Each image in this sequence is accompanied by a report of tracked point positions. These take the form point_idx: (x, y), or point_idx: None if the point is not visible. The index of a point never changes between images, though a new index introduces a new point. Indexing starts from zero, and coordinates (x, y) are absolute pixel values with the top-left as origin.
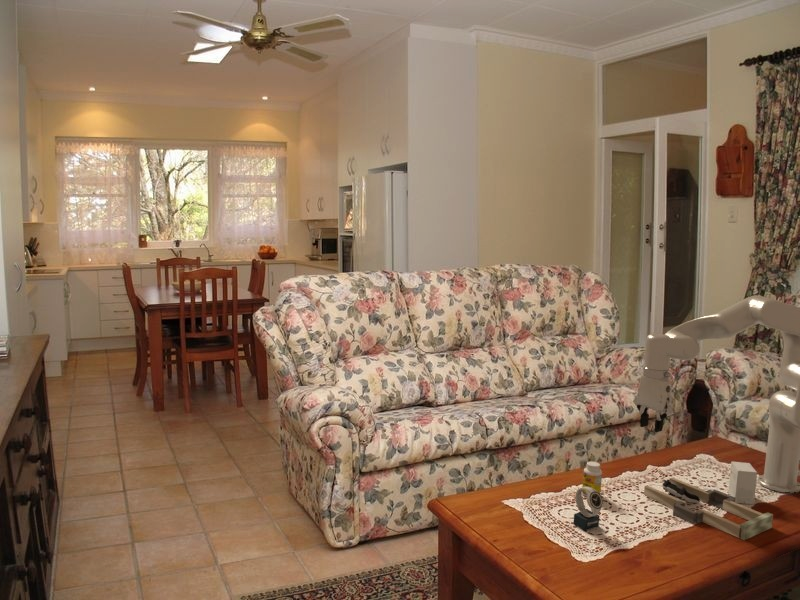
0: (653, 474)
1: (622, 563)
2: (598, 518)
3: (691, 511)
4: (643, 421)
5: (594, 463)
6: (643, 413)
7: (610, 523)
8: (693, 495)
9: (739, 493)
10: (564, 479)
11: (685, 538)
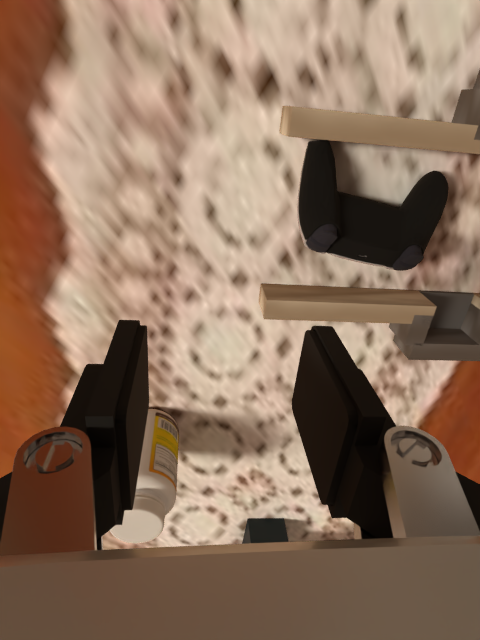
0: (138, 31)
1: None
2: (287, 540)
3: (469, 353)
4: (141, 438)
5: (135, 522)
6: (104, 520)
7: (294, 493)
8: (438, 218)
9: None
10: (7, 414)
11: (463, 421)
